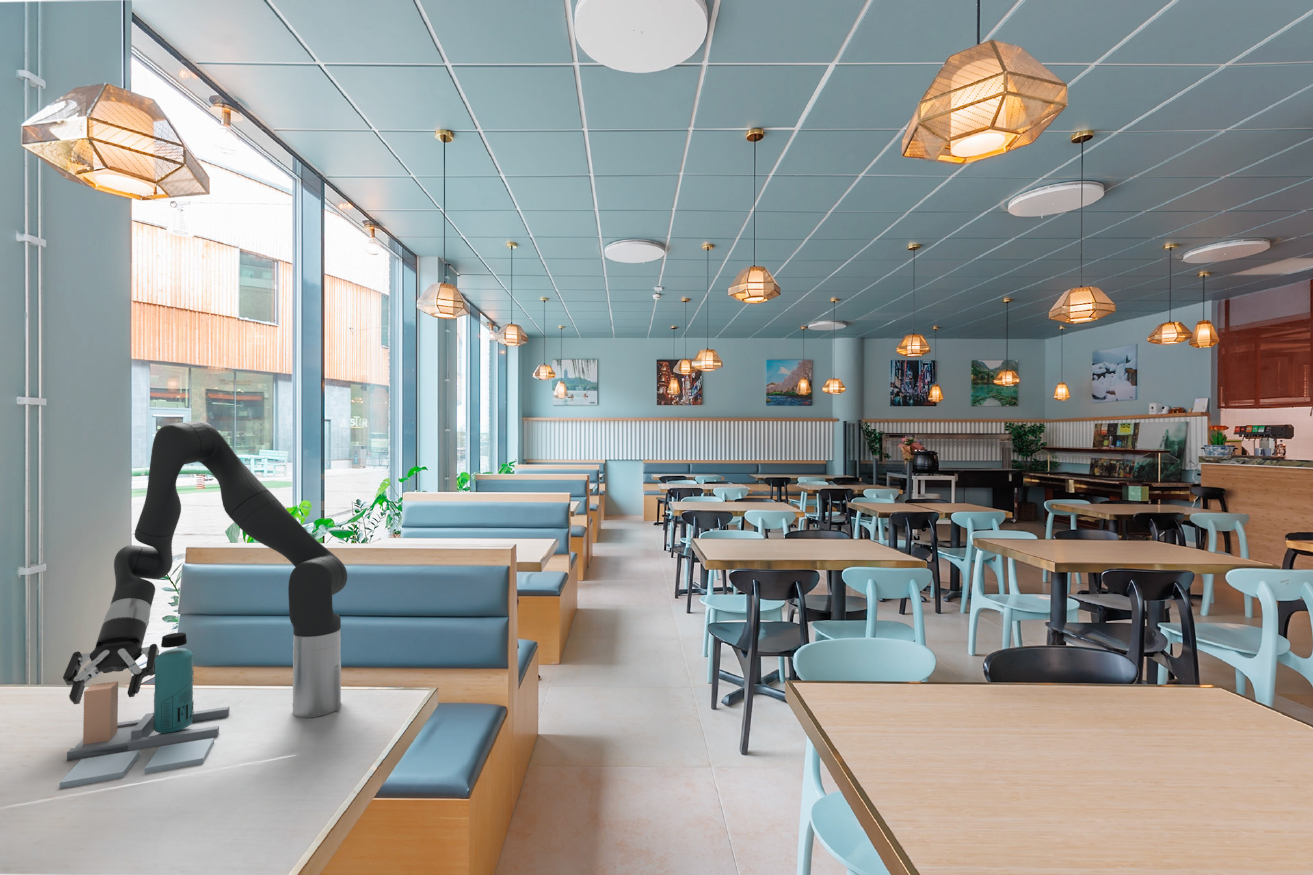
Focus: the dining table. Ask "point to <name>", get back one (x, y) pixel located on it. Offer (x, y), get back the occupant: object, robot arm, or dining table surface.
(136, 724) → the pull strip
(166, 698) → the beverage bottle
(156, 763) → the split strip
